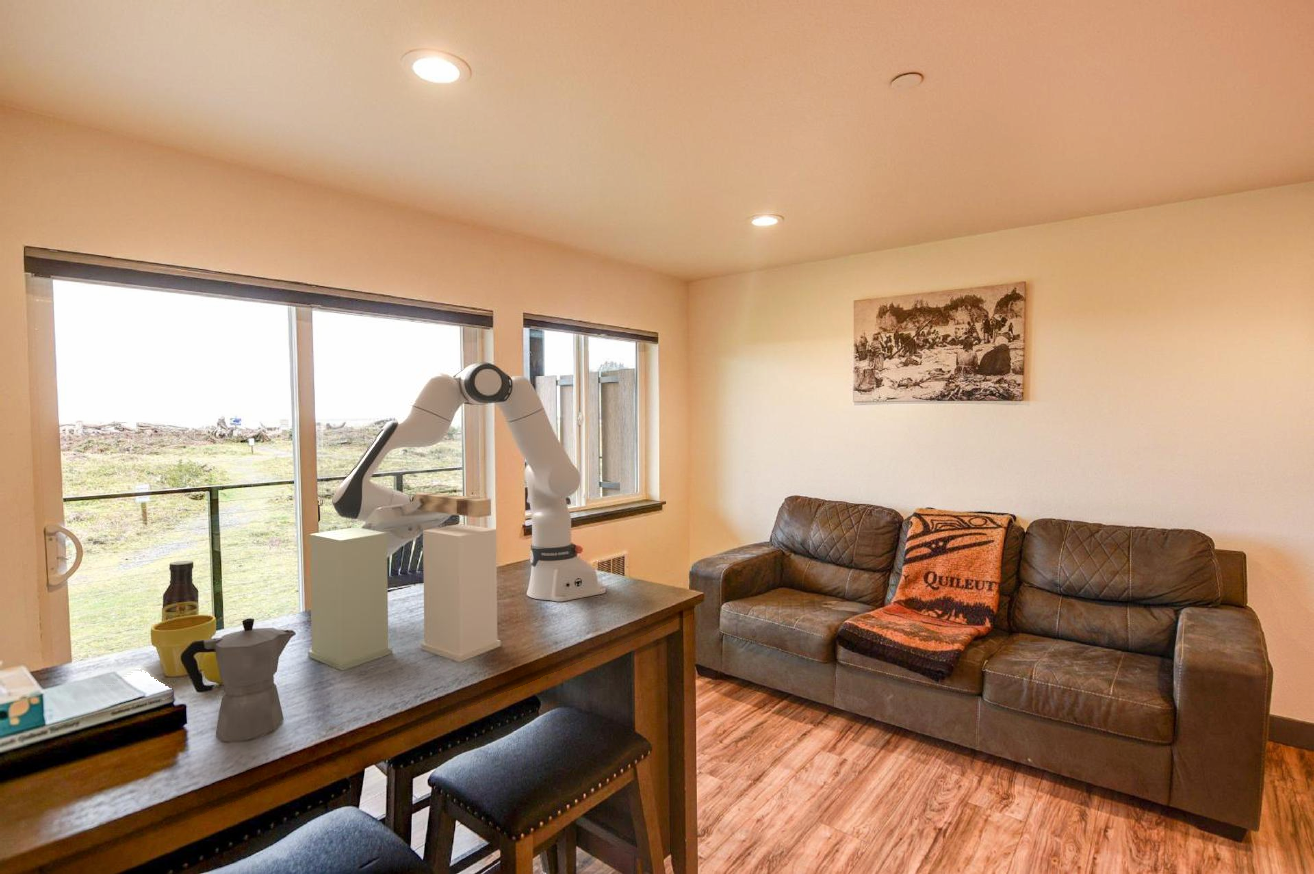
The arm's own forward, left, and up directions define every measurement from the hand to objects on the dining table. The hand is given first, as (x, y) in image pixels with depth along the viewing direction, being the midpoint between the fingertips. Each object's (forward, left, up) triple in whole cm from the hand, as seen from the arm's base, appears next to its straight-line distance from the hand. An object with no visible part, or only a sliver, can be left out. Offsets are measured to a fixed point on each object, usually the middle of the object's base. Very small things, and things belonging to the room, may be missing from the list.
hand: (430, 499), depth 141 cm
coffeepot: (+32, +32, -32) cm, 55 cm away
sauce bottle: (+50, -11, -32) cm, 60 cm away
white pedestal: (-5, +9, -32) cm, 33 cm away
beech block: (-4, +6, -2) cm, 8 cm away
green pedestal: (+17, +3, -32) cm, 36 cm away
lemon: (+39, +10, -32) cm, 51 cm away
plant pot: (+47, -1, -32) cm, 56 cm away
